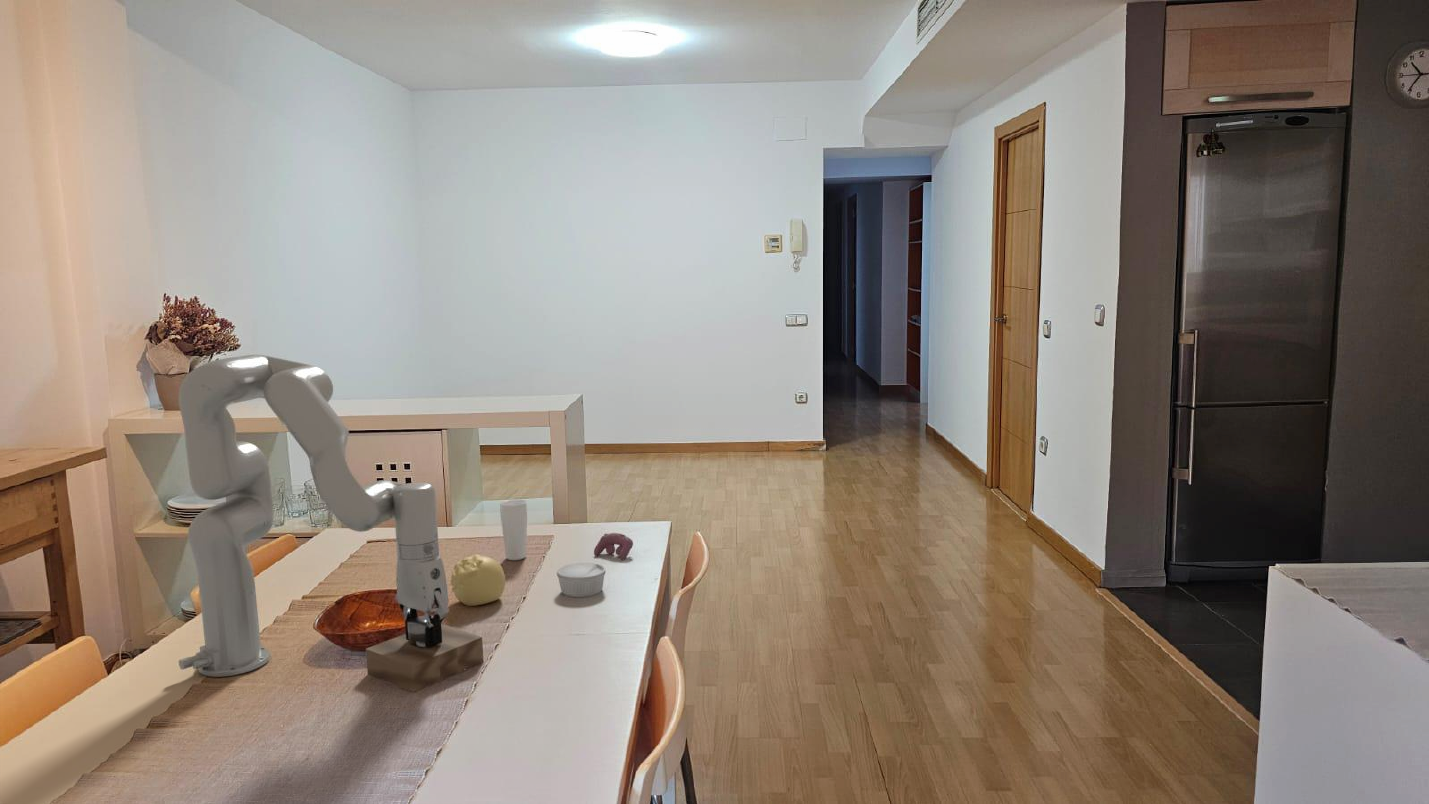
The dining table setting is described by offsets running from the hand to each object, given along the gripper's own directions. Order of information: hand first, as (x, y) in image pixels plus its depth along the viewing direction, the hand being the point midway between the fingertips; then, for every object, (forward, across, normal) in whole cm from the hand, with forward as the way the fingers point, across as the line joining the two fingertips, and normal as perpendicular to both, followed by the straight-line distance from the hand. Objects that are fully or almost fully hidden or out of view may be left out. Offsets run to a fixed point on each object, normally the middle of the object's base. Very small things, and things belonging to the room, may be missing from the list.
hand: (424, 640), depth 180 cm
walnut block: (+5, 0, 0) cm, 5 cm away
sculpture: (+6, +21, -30) cm, 37 cm away
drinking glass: (+6, +39, -57) cm, 69 cm away
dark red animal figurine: (+6, +18, -73) cm, 75 cm away
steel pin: (+3, 0, 0) cm, 3 cm away
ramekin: (+6, +6, -48) cm, 49 cm away
